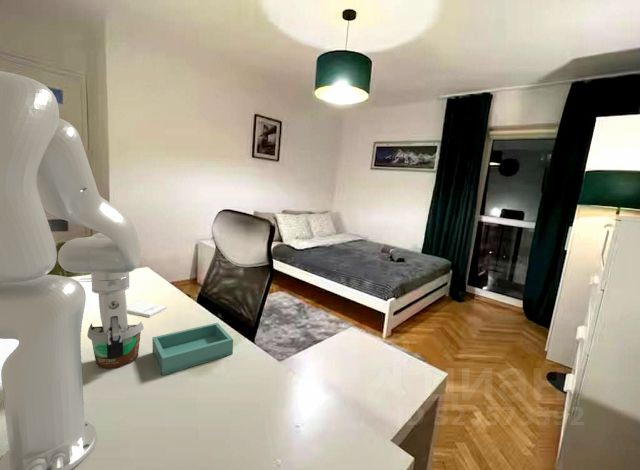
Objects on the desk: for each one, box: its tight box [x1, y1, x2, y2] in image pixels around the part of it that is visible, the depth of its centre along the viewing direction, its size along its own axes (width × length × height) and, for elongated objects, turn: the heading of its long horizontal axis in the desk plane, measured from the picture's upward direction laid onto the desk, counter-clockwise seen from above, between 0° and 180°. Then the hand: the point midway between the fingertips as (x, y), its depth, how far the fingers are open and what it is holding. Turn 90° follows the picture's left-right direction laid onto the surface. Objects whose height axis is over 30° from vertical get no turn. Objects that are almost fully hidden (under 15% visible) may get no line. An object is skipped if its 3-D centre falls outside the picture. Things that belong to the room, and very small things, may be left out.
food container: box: [87, 321, 145, 370], centre depth 76 cm, size 12×6×10 cm, turn 106°
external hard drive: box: [126, 300, 168, 318], centre depth 109 cm, size 2×8×12 cm
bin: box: [152, 322, 234, 376], centre depth 84 cm, size 12×18×4 cm, turn 129°
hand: (113, 349), depth 76 cm, fingers closed on food container, 7 cm apart
